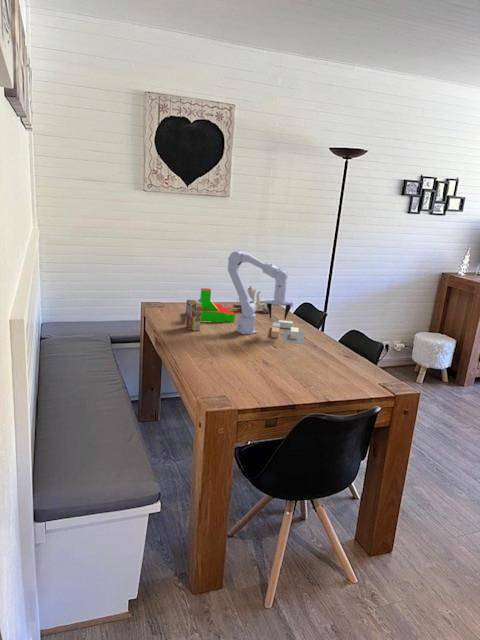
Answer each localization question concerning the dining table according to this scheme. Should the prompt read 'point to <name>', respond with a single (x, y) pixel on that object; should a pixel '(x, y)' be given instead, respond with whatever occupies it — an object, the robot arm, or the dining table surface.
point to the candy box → (193, 314)
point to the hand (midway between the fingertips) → (277, 318)
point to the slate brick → (276, 325)
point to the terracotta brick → (275, 332)
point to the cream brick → (294, 333)
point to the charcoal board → (287, 339)
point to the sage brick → (285, 324)
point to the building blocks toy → (214, 309)
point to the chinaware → (252, 295)
